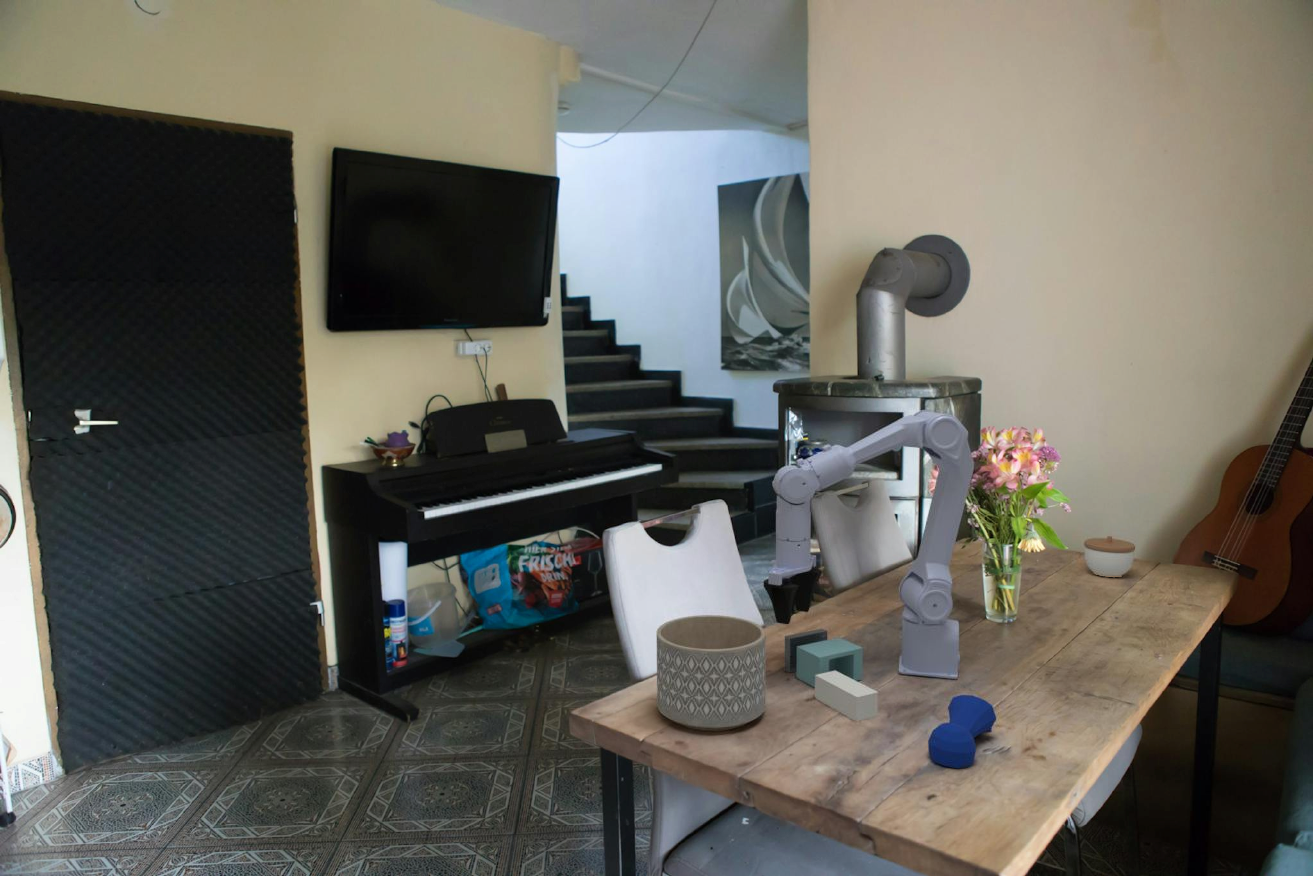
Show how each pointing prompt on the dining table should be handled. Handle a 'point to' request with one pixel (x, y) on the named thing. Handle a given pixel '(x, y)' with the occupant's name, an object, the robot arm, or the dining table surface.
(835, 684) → the peg
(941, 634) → the robot arm
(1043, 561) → the dining table surface
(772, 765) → the dining table surface
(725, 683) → the planter
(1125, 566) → the lidded jar
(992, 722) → the toy
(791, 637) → the wall
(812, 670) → the block
